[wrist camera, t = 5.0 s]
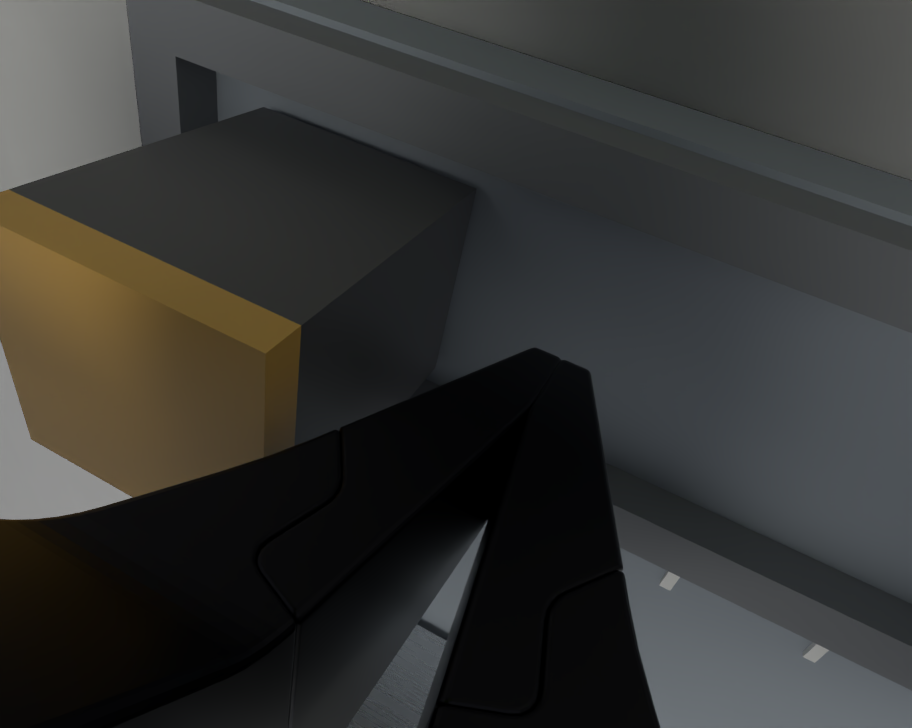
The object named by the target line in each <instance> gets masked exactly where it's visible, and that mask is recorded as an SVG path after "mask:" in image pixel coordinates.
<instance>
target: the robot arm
mask: <svg viewBox="0 0 912 728" xmlns="http://www.w3.org/2000/svg"><path fill="white" fill-rule="evenodd" d="M486 522H487V524H486ZM485 524H486V527H485V530H484V533H483V536H482V538H481V541H480V544H479V547H478V550H477V553H476V556H475V559H474V562H473V565H472V568H471V571H470V574H469V577H468V579H467V582H466V585H465V588H464V591H463V594H462V597H461V600H460V603H459V606H458V609H457V612H456V615H455V618H454V620H453V623H452V626H451V629H450V632H449V635H448V638H447V641H446V644H445V647H444V650H443V653H442V656H441V658H440V661H439V664H438V667H437V670H436V673H435V676H434V679H433V682H432V685H431V688H430V691H429V694H428V697H427V699H426V702H425V705H424V708H423V711H422V714H421V717H420V720H419V723H418V726H417V728H661V727H660V724H659V720H658V717H657V714H656V710H655V707H654V704H653V700H652V696H651V693H650V689H649V685H648V682H647V678H646V674H645V671H644V667H643V663H642V659H641V656H640V652H639V648H638V643H637V638H636V633H635V628H634V623H633V618H632V613H631V608H630V603H629V597H628V591H627V585H626V579H625V574H624V573H623V572H622V570H623V563H622V557H621V551H620V545H619V539H618V533H617V527H616V521H615V515H614V509H613V503H612V497H611V491H610V485H609V479H608V473H607V467H606V461H605V455H604V449H603V443H602V437H601V431H600V425H599V419H598V413H597V407H596V401H595V395H594V389H593V383H592V377H591V373H590V371H589V370H587V369H586V368H583V367H581V366H578V365H576V364H574V363H571V362H569V361H567V360H561V359H560V358H559V357H557V356H555V355H553V354H551V353H548V352H546V351H544V350H541V349H539V348H536V347H533V348H530V349H527V350H525V351H522V352H520V353H518V354H515V355H513V356H510V357H508V358H506V359H503V360H501V361H498V362H496V363H494V364H491V365H489V366H486V367H484V368H482V369H479V370H477V371H474V372H472V373H470V374H467V375H465V376H462V377H460V378H458V379H455V380H453V381H450V382H448V383H446V384H443V385H441V386H438V387H436V388H434V389H431V390H429V391H426V392H424V393H422V394H419V395H417V396H414V397H412V398H410V399H407V400H405V401H402V402H400V403H398V404H395V405H393V406H390V407H388V408H386V409H383V410H381V411H378V412H376V413H374V414H371V415H369V416H366V417H364V418H362V419H359V420H357V421H354V422H352V423H350V424H347V425H345V426H342V427H341V428H340V430H339V431H338V430H332V431H330V432H327V433H325V434H323V435H320V436H318V437H315V438H313V439H311V440H308V441H305V442H303V443H300V444H298V445H295V446H292V447H290V448H287V449H285V450H282V451H279V452H277V453H274V454H272V455H269V456H266V457H263V458H260V459H257V460H254V461H251V462H248V463H244V464H241V465H238V466H235V467H232V468H229V469H226V470H223V471H220V472H216V473H213V474H210V475H206V476H203V477H200V478H196V479H193V480H190V481H186V482H183V483H180V484H176V485H173V486H170V487H166V488H163V489H160V490H156V491H153V492H150V493H146V494H143V495H140V496H136V497H133V498H130V499H127V500H123V501H120V502H117V503H113V504H110V505H107V506H103V507H99V508H96V509H92V510H88V511H84V512H80V513H75V514H70V515H64V516H59V517H51V518H42V519H29V520H6V519H0V728H347V726H348V725H349V723H350V722H351V720H352V719H353V718H354V716H355V715H356V713H357V712H358V710H359V709H360V707H361V706H362V704H363V703H364V701H365V700H366V698H367V697H368V695H369V694H370V693H371V691H372V690H373V688H374V687H375V685H376V684H377V682H378V681H379V679H380V678H381V676H382V675H383V673H384V672H385V671H386V669H387V668H388V666H389V665H390V663H391V662H392V660H393V659H394V657H395V656H396V654H397V653H398V651H399V650H400V648H401V647H402V646H403V644H404V643H405V641H406V640H407V638H408V637H409V635H410V634H411V632H412V631H413V629H414V628H415V626H416V625H417V624H418V622H419V621H420V619H421V618H422V616H423V615H424V613H425V612H426V610H427V609H428V607H429V606H430V604H431V603H432V602H433V600H434V599H435V597H436V596H437V594H438V593H439V591H440V590H441V588H442V587H443V585H444V584H445V582H446V581H447V579H448V578H449V577H450V575H451V574H452V572H453V571H454V569H455V568H456V566H457V565H458V563H459V562H460V560H461V559H462V557H463V556H464V555H465V553H466V552H467V550H468V549H469V547H470V546H471V544H472V543H473V541H474V540H475V538H476V537H477V535H478V534H479V532H480V531H481V530H482V528H483V527H484V525H485Z"/></svg>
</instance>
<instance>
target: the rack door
mask: <svg viewBox="0 0 912 728" xmlns="http://www.w3.org/2000/svg"><path fill="white" fill-rule="evenodd" d="M445 644H446V640H444V639H443V638H441V637H439V636H437V635H435V634H434V633H432V632H430V631H428V630H426V629H425V628H423V627H421V626H419V625H416V626H415V628H414V629H413V631H412V632H411V634H410V635H409V637H408V638H407V640H406V641H405V643H404V644H403V646H402V647H401V648H400V650H399V651H398V653H397V654H396V656H395V657H394V659H393V660H392V662H391V663H390V665H389V666H388V668H387V669H386V671H385V672H384V673H383V675H382V676H381V678H380V679H379V681H378V682H377V684H376V685H375V687H374V688H373V690H372V691H371V693H370V694H369V695H368V697H367V698H366V700H365V701H364V703H363V704H362V706H361V707H360V709H359V710H358V712H357V713H356V715H355V716H354V718H353V719H352V720H351V722H350V723H349V725H348V726H347V728H417V726H418V723H419V720H420V717H421V714H422V711H423V708H424V705H425V702H426V699H427V697H428V694H429V691H430V688H431V685H432V682H433V679H434V676H435V673H436V670H437V667H438V664H439V661H440V658H441V656H442V653H443V650H444V647H445Z"/></svg>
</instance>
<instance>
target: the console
mask: <svg viewBox="0 0 912 728" xmlns="http://www.w3.org/2000/svg"><path fill="white" fill-rule="evenodd" d="M126 5H127V14H128V23H129V32H130V41H131V50H132V59H133V68H134V77H135V86H136V96H137V105H138V114H139V123H140V132H141V141H142V146H145V145H148V144H151V143H154V142H157V141H160V140H163V139H166V138H169V137H172V136H175V135H178V134H182V133H185V132H188V131H191V130H194V129H197V128H200V127H203V126H206V125H209V124H212V123H215V122H219V121H222V120H225V119H228V118H231V117H234V116H237V115H240V114H243V113H246V112H249V111H252V110H256V109H259V108H262V107H265V108H268V109H270V110H273V111H275V112H278V113H281V114H283V115H286V116H288V117H291V118H294V119H296V120H299V121H301V122H304V123H307V124H309V125H312V126H315V127H317V128H320V129H322V130H325V131H328V132H330V133H333V134H335V135H338V136H341V137H343V138H346V139H348V140H351V141H354V142H356V143H359V144H361V145H364V146H367V147H369V148H372V149H375V150H377V151H380V152H382V153H385V154H388V155H390V156H393V157H395V158H398V159H401V160H403V161H406V162H408V163H411V164H414V165H416V166H419V167H422V168H424V169H427V170H429V171H432V172H435V173H437V174H440V175H442V176H445V177H448V178H450V179H453V180H455V181H458V182H461V183H463V184H466V185H468V186H471V187H474V188H476V189H477V190H476V194H475V198H474V203H473V207H472V211H471V216H470V220H469V224H468V229H467V233H466V237H465V242H464V246H463V250H462V255H461V259H460V263H459V268H458V272H457V276H456V281H455V285H454V290H453V294H452V298H451V303H450V307H449V311H448V316H447V320H446V324H445V329H444V333H443V337H442V342H441V346H440V350H439V355H438V359H437V363H436V368H435V369H434V370H433V371H432V372H431V374H430V375H429V376H428V377H427V378H426V379H425V381H424V382H423V383H422V384H421V385H420V386H419V388H418V389H417V390H416V391H415V392H414V393H413V395H412V396H411V397H410V398H412V397H414V396H417V395H419V394H422V393H424V392H426V391H429V390H431V389H434V388H436V387H438V386H441V385H443V384H446V383H448V382H450V381H453V380H455V379H458V378H460V377H462V376H465V375H467V374H470V373H472V372H474V371H477V370H479V369H482V368H484V367H486V366H489V365H491V364H494V363H496V362H498V361H501V360H503V359H506V358H508V357H510V356H513V355H515V354H518V353H520V352H522V351H525V350H527V349H530V348H533V347H536V348H539V349H541V350H544V351H546V352H548V353H551V354H553V355H555V356H557V357H559V358H560V359H561V360H567V361H569V362H571V363H574V364H576V365H578V366H581V367H583V368H586V369H587V370H589V371H590V373H591V377H592V383H593V389H594V395H595V401H596V407H597V413H598V419H599V425H600V431H601V437H602V443H603V449H604V455H605V461H606V467H607V473H608V479H609V485H610V491H611V497H612V503H613V509H614V515H615V521H616V527H617V533H618V539H619V545H620V551H621V557H622V563H623V570H622V572H623V573H624V574H625V579H626V585H627V591H628V597H629V603H630V608H631V613H632V618H633V623H634V628H635V633H636V638H637V643H638V648H639V652H640V656H641V659H642V663H643V667H644V671H645V674H646V678H647V682H648V685H649V689H650V693H651V696H652V700H653V704H654V707H655V710H656V714H657V717H658V720H659V724H660V727H661V728H912V181H910V180H907V179H904V178H901V177H898V176H895V175H892V174H889V173H886V172H883V171H880V170H877V169H874V168H871V167H868V166H865V165H861V164H858V163H855V162H852V161H849V160H846V159H843V158H840V157H837V156H834V155H831V154H828V153H825V152H822V151H819V150H816V149H813V148H810V147H807V146H803V145H800V144H797V143H794V142H791V141H788V140H785V139H782V138H779V137H776V136H773V135H770V134H767V133H764V132H761V131H758V130H755V129H752V128H748V127H745V126H742V125H739V124H736V123H733V122H730V121H727V120H724V119H721V118H718V117H715V116H712V115H709V114H706V113H703V112H700V111H697V110H693V109H690V108H687V107H684V106H681V105H678V104H675V103H672V102H669V101H666V100H663V99H660V98H657V97H654V96H651V95H648V94H645V93H642V92H638V91H635V90H632V89H629V88H626V87H623V86H620V85H617V84H614V83H611V82H608V81H605V80H602V79H599V78H596V77H593V76H590V75H587V74H584V73H580V72H577V71H574V70H571V69H568V68H565V67H562V66H559V65H556V64H553V63H550V62H547V61H544V60H541V59H538V58H535V57H532V56H529V55H525V54H522V53H519V52H516V51H513V50H510V49H507V48H504V47H501V46H498V45H495V44H492V43H489V42H486V41H483V40H480V39H477V38H474V37H470V36H467V35H464V34H461V33H458V32H455V31H452V30H449V29H446V28H443V27H440V26H437V25H434V24H431V23H428V22H425V21H422V20H419V19H416V18H412V17H409V16H406V15H403V14H400V13H397V12H394V11H391V10H388V9H385V8H382V7H379V6H376V5H373V4H370V3H367V2H364V1H361V0H126ZM410 398H409V399H410ZM486 524H487V522H486ZM486 524H485V525H484V527H483V528H482V530H481V531H480V532H479V534H478V535H477V537H476V538H475V540H474V541H473V543H472V544H471V546H470V547H469V549H468V550H467V552H466V553H465V555H464V556H463V557H462V559H461V560H460V562H459V563H458V565H457V566H456V568H455V569H454V571H453V572H452V574H451V575H450V577H449V578H448V579H447V581H446V582H445V584H444V585H443V587H442V588H441V590H440V591H439V593H438V594H437V596H436V597H435V599H434V600H433V602H432V603H431V604H430V606H429V607H428V609H427V610H426V612H425V613H424V615H423V616H422V618H421V619H420V621H419V622H418V624H417V625H419V626H421V627H423V628H425V629H426V630H428V631H430V632H432V633H434V634H435V635H437V636H439V637H441V638H443V639H444V640H446V641H447V638H448V635H449V632H450V629H451V626H452V623H453V620H454V618H455V615H456V612H457V609H458V606H459V603H460V600H461V597H462V594H463V591H464V588H465V585H466V582H467V579H468V577H469V574H470V571H471V568H472V565H473V562H474V559H475V556H476V553H477V550H478V547H479V544H480V541H481V538H482V536H483V533H484V530H485V527H486Z"/></svg>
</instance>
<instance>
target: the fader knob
mask: <svg viewBox="0 0 912 728" xmlns="http://www.w3.org/2000/svg"><path fill="white" fill-rule="evenodd" d="M476 190H477V189H476V188H474V187H471V186H468V185H466V184H463V183H461V182H458V181H455V180H453V179H450V178H448V177H445V176H442V175H440V174H437V173H435V172H432V171H429V170H427V169H424V168H422V167H419V166H416V165H414V164H411V163H408V162H406V161H403V160H401V159H398V158H395V157H393V156H390V155H388V154H385V153H382V152H380V151H377V150H375V149H372V148H369V147H367V146H364V145H361V144H359V143H356V142H354V141H351V140H348V139H346V138H343V137H341V136H338V135H335V134H333V133H330V132H328V131H325V130H322V129H320V128H317V127H315V126H312V125H309V124H307V123H304V122H301V121H299V120H296V119H294V118H291V117H288V116H286V115H283V114H281V113H278V112H275V111H273V110H270V109H268V108H265V107H262V108H259V109H256V110H252V111H249V112H246V113H243V114H240V115H237V116H234V117H231V118H228V119H225V120H222V121H219V122H215V123H212V124H209V125H206V126H203V127H200V128H197V129H194V130H191V131H188V132H185V133H182V134H178V135H175V136H172V137H169V138H166V139H163V140H160V141H157V142H154V143H151V144H148V145H145V146H142V147H138V148H135V149H132V150H129V151H126V152H123V153H120V154H117V155H114V156H111V157H108V158H105V159H101V160H98V161H95V162H92V163H89V164H86V165H83V166H80V167H77V168H74V169H71V170H68V171H65V172H61V173H58V174H55V175H52V176H49V177H46V178H43V179H40V180H37V181H34V182H31V183H28V184H24V185H21V186H18V187H15V188H12V189H9V190H6V191H3V192H0V340H1V343H2V346H3V349H4V352H5V356H6V359H7V362H8V365H9V369H10V372H11V375H12V378H13V382H14V385H15V388H16V391H17V395H18V398H19V401H20V404H21V407H22V411H23V414H24V417H25V420H26V424H27V427H28V430H29V433H30V437H31V439H32V440H33V441H35V442H37V443H39V444H40V445H42V446H44V447H46V448H47V449H49V450H51V451H53V452H54V453H56V454H58V455H60V456H61V457H63V458H65V459H67V460H68V461H70V462H72V463H74V464H75V465H77V466H79V467H81V468H82V469H84V470H86V471H88V472H89V473H91V474H93V475H95V476H96V477H98V478H100V479H102V480H103V481H105V482H107V483H109V484H110V485H112V486H114V487H116V488H117V489H119V490H121V491H123V492H124V493H126V494H128V495H130V496H131V497H136V496H140V495H143V494H146V493H150V492H153V491H156V490H160V489H163V488H166V487H170V486H173V485H176V484H180V483H183V482H186V481H190V480H193V479H196V478H200V477H203V476H206V475H210V474H213V473H216V472H220V471H223V470H226V469H229V468H232V467H235V466H238V465H241V464H244V463H248V462H251V461H254V460H257V459H260V458H263V457H266V456H269V455H272V454H274V453H277V452H279V451H282V450H285V449H287V448H290V447H292V446H295V445H298V444H300V443H303V442H305V441H308V440H311V439H313V438H315V437H318V436H320V435H323V434H325V433H327V432H330V431H332V430H338V431H339V430H340V428H341V427H342V426H345V425H347V424H350V423H352V422H354V421H357V420H359V419H362V418H364V417H366V416H369V415H371V414H374V413H376V412H378V411H381V410H383V409H386V408H388V407H390V406H393V405H395V404H398V403H400V402H402V401H405V400H407V399H409V398H410V397H411V396H412V395H413V393H414V392H415V391H416V390H417V389H418V388H419V386H420V385H421V384H422V383H423V382H424V381H425V379H426V378H427V377H428V376H429V375H430V374H431V372H432V371H433V370H434V369H435V368H436V363H437V359H438V355H439V350H440V346H441V342H442V337H443V333H444V329H445V324H446V320H447V316H448V311H449V307H450V303H451V298H452V294H453V290H454V285H455V281H456V276H457V272H458V268H459V263H460V259H461V255H462V250H463V246H464V242H465V237H466V233H467V229H468V224H469V220H470V216H471V211H472V207H473V203H474V198H475V194H476Z"/></svg>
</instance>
